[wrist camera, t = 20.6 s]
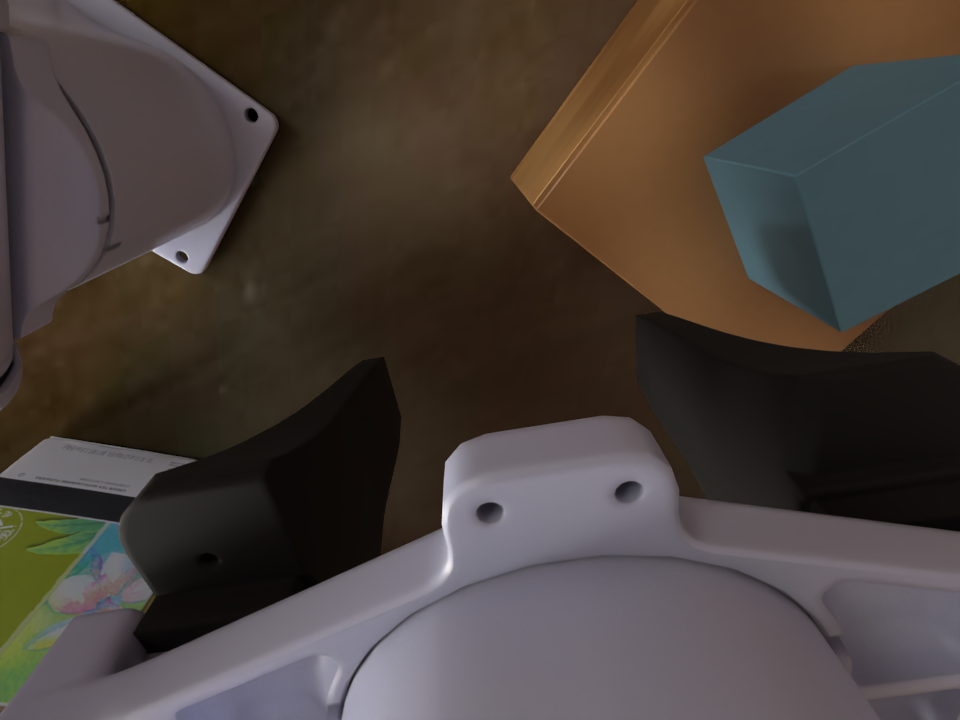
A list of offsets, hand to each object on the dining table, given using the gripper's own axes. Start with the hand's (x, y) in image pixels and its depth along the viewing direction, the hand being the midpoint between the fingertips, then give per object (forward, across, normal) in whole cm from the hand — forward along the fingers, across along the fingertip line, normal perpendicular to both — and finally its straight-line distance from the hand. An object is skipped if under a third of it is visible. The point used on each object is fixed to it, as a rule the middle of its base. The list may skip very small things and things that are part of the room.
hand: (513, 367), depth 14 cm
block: (+3, -9, -3) cm, 10 cm away
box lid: (+4, -10, -3) cm, 11 cm away
